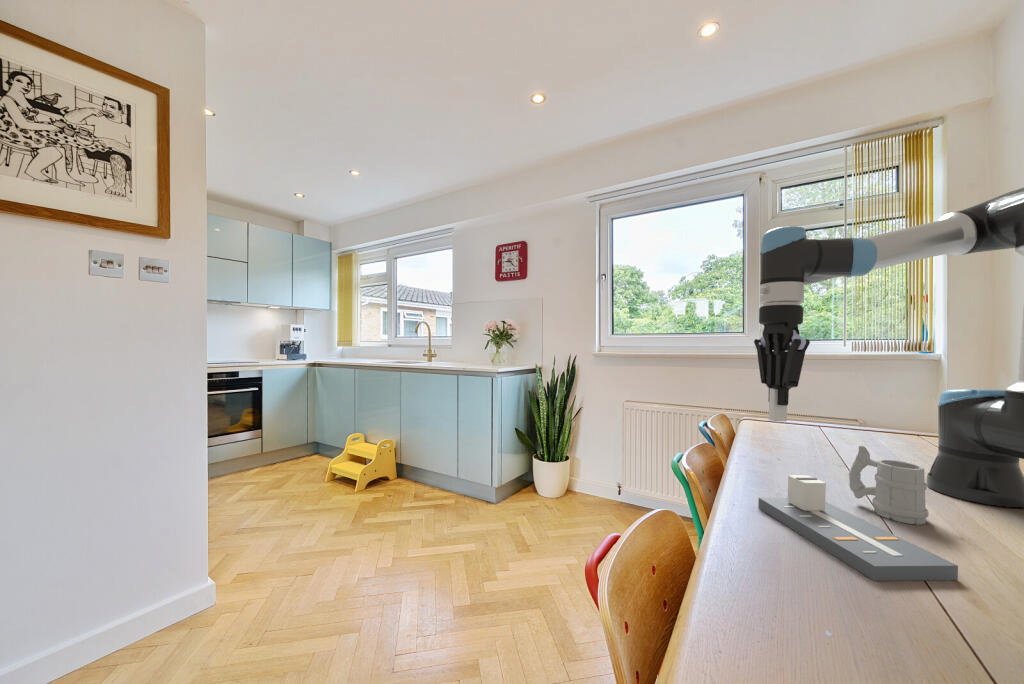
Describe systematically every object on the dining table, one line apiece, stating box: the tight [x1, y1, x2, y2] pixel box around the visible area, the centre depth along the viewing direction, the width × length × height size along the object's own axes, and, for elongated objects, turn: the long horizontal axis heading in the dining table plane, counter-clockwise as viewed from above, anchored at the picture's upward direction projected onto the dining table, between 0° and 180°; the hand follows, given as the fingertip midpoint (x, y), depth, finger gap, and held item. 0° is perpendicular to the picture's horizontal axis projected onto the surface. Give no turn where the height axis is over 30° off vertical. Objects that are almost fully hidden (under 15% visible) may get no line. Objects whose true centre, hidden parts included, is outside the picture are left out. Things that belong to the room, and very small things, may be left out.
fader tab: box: [787, 474, 827, 511], centre depth 74 cm, size 4×4×5 cm
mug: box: [848, 444, 929, 526], centre depth 78 cm, size 8×12×12 cm, turn 28°
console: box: [757, 497, 959, 582], centre depth 67 cm, size 12×24×2 cm, turn 3°
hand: (777, 420), depth 82 cm, fingers closed
